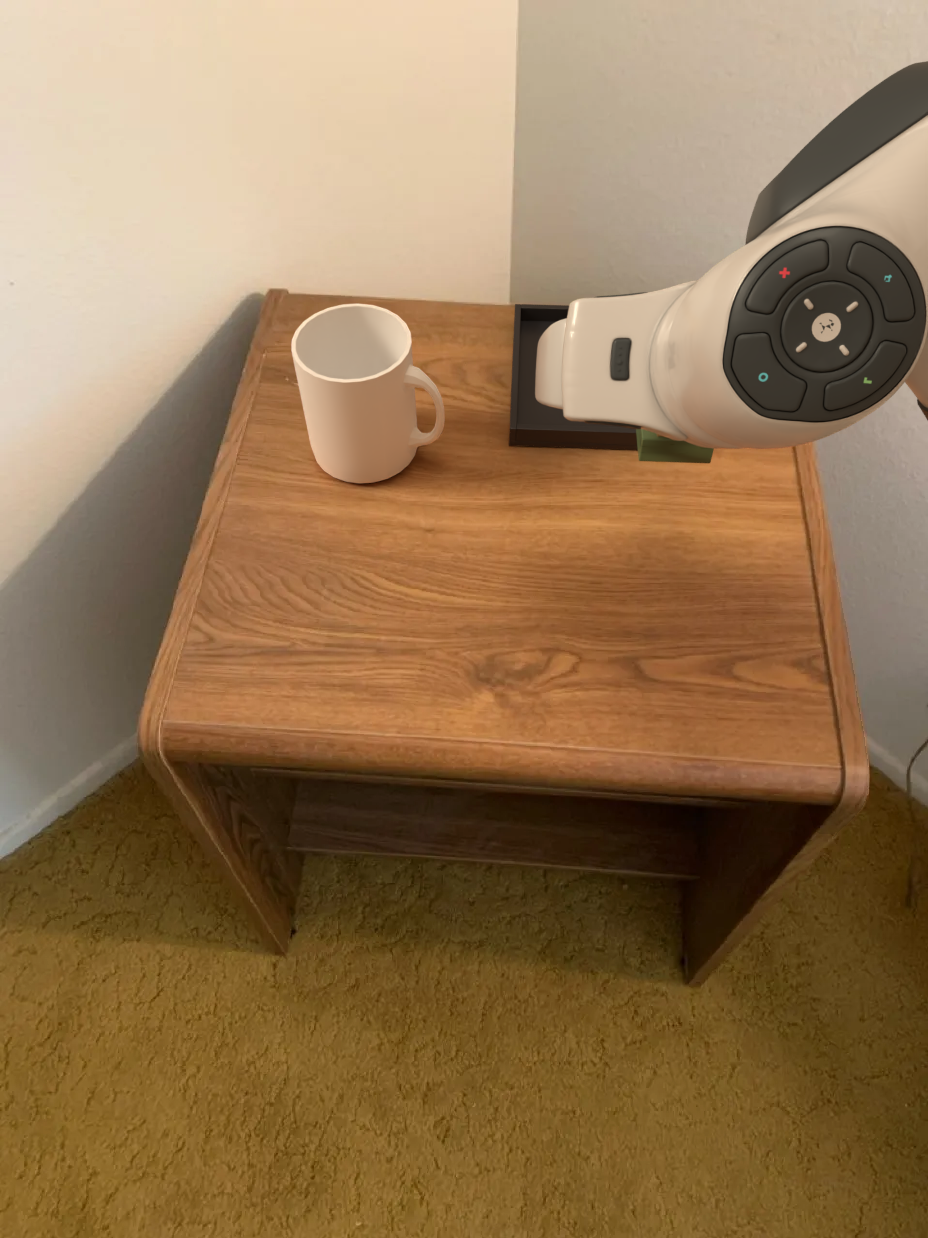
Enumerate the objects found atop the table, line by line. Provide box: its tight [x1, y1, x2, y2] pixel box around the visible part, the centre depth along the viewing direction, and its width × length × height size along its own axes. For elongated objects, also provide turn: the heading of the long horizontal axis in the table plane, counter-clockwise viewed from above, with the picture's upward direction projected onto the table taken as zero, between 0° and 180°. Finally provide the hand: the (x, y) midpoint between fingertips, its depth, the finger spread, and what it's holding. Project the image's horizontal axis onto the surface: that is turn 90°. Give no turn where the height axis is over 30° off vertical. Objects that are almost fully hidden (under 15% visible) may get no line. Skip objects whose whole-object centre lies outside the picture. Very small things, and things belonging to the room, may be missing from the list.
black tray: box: [508, 303, 638, 451], centre depth 86 cm, size 15×17×2 cm
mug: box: [290, 303, 446, 484], centre depth 77 cm, size 10×12×12 cm
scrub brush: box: [636, 429, 715, 464], centre depth 62 cm, size 5×4×9 cm
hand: (682, 382), depth 63 cm, fingers closed on scrub brush, 3 cm apart
